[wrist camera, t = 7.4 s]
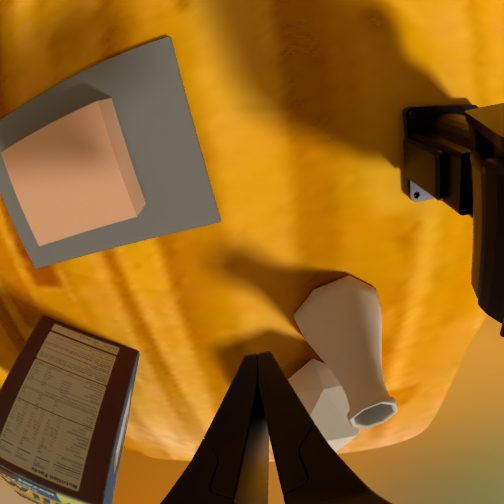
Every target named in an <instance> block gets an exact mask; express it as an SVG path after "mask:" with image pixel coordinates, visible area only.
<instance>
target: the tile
mask: <svg viewBox="0 0 504 504" xmlns="http://www.w3.org/2000/svg"><path fill="white" fill-rule="evenodd" d="M1 155H2V158H3V161H4V164H5V166H6V169H7V172H8V175H9V178H10V180H11V183H12V186H13V188H14V191H15V193H16V196H17V198H18V201H19V203H20V205H21V208H22V210H23V213H24V215H25V217H26V219H27V222H28V224H29V226H30V228H31V230H32V232H33V235H34V237H35V239H36V241H37V243H38V245H39V246H42V245H45V244H48V243H51V242H54V241H57V240H61V239H64V238H67V237H70V236H73V235H76V234H80V233H83V232H86V231H89V230H93V229H96V228H99V227H103V226H106V225H110V224H113V223H116V222H120V221H123V220H127V219H131V218H134V217H137V216H138V214H139V213H140V212H141V210H142V209H143V207H144V206H145V205H146V202H145V199H144V197H143V194H142V191H141V188H140V185H139V182H138V180H137V177H136V174H135V171H134V168H133V165H132V162H131V159H130V156H129V153H128V150H127V147H126V143H125V140H124V137H123V134H122V131H121V127H120V124H119V121H118V118H117V114H116V111H115V107H114V104H113V100H112V98H110V99H104V100H99V101H96V102H94V103H91V104H89V105H87V106H85V107H83V108H81V109H78V110H76V111H74V112H72V113H70V114H68V115H66V116H64V117H62V118H60V119H58V120H56V121H54V122H52V123H50V124H49V125H47V126H45V127H43V128H41V129H39V130H38V131H36V132H34V133H32V134H31V135H29V136H27V137H25V138H24V139H22V140H20V141H19V142H17V143H15V144H14V145H12V146H10V147H9V148H7V149H6V150H4V151H3V152H1Z"/></svg>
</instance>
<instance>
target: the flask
mask: <svg viewBox="0 0 504 504" xmlns="http://www.w3.org/2000/svg"><path fill="white" fill-rule="evenodd" d="M293 317H294V319H295V321H296V323H297V325H298V327H299V329H300V331H301V333H302V335H303V337H304V339H305V340H306V341H307V342H308V344H309V345H310V346H311V347H312V349H313V350H314V351H315V352H316V353H317V354H318V356H319V357H320V358H321V359H322V360H323V361H324V363H325V364H326V365H327V367H328V368H329V369H330V370H331V372H332V373H333V374H334V376H335V377H336V378H337V380H338V381H339V382H340V384H341V386H342V388H343V390H344V392H345V394H346V396H347V400H348V403H349V407H350V411H349V412H348V413H347V418H348V421H349V423H350V425H351V427H352V428H360V429H367V428H370V427H373V426H375V425H378V424H381V423H383V422H385V421H386V420H388V419H389V418H390V417H392V416H393V415H394V414H396V413H397V412H398V410H397V403H396V400H395V399H394V398H393V397H390V396H389V394H388V392H387V389H386V387H385V384H384V379H383V373H382V311H381V307H380V303H379V299H378V294H377V290H376V288H374V287H372V286H370V285H368V284H366V283H364V282H362V281H360V280H358V279H356V278H354V277H352V276H350V275H348V276H346V277H343V278H341V279H339V280H336V281H334V282H331V283H329V284H326V285H324V286H321V287H319V288H316V289H314V290H313V291H312V292H311V294H310V295H309V296H308V297H307V299H306V300H305V301H304V303H303V304H302V305H301V306H300V308H299V309H298V310H297V311H296V313H295V314H294V315H293Z"/></svg>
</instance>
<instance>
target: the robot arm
mask: <svg viewBox="0 0 504 504" xmlns="http://www.w3.org/2000/svg"><path fill="white" fill-rule="evenodd" d="M410 111H412V113H413V116H412V117H411V118H410V117H409V113H410ZM403 121H404V131H405V139H404V141H403V146H404V160H405V176H406V177H407V178H408V197H409V198H410V199H411V200H412V201H414V202H418V201H423V200H429V199H434V198H435V199H437V200H442V201H443V202H444V203H446V204H447V205H448V206H450V207H451V208H452V209H454V210H455V211H456V212H457V213H459V214H460V215H467V214H468V215H469V216H470V217H471V218H473V253H472V271H471V284H472V286H473V289H474V291H475V294H476V296H477V298H478V305H479V306H480V307H481V308H482V309H483V310H484V311H485V313H486V314H488V315H489V316H491V317H492V318H494V319H495V320H497V321H498V322H500V323H502V327H501V331H500V335H501V336H502V337H504V103H501V104H496V105H491V106H486V107H481V108H478V107H477V106H476V105H472V104H453V105H425V106H409V107H406V108H405V109H404V111H403ZM415 192H417V195H416V196H414V193H415ZM269 436H270V441H271V445H272V450H273V454H274V458H275V462H276V467H277V471H278V476H279V480H280V484H281V488H282V492H283V495H284V501H285V504H392V503H390V502H389V501H387V500H386V499H384V498H382V497H381V496H379V495H378V494H376V493H375V492H374V491H372V490H371V489H370V488H369V487H368V486H367V485H366V484H365V483H363V482H362V481H361V479H359V477H358V476H357V475H356V474H355V473H354V472H353V471H352V470H351V469H350V468H349V467H348V466H347V465H346V464H345V462H344V461H343V460H342V459H341V458H340V457H339V456H338V455H337V453H336V452H335V451H334V450H333V449H332V447H331V446H330V445H329V444H328V442H327V441H326V439H325V438H324V436H323V435H322V434H321V432H320V430H319V429H318V427H317V426H316V425H315V423H314V421H313V420H312V418H311V416H310V415H309V413H308V412H307V410H306V408H305V407H304V405H303V404H302V402H301V400H300V399H299V397H298V396H297V394H296V392H295V391H294V389H293V387H292V386H291V384H290V383H289V381H288V379H287V378H286V376H285V374H284V373H283V371H282V369H281V368H280V366H279V364H278V363H277V361H276V359H275V358H274V356H273V354H272V353H271V352H270V351H266V352H261V353H259V354H256V353H255V354H249V355H245V356H244V358H243V360H242V362H241V364H240V366H239V368H238V370H237V373H236V375H235V377H234V379H233V381H232V383H231V385H230V387H229V389H228V391H227V393H226V395H225V397H224V399H223V401H222V403H221V405H220V407H219V409H218V411H217V413H216V415H215V417H214V419H213V421H212V423H211V425H210V427H209V429H208V431H207V433H206V435H205V437H204V438H205V439H203V440H202V442H201V444H200V446H199V448H198V450H197V452H196V453H195V455H194V457H193V459H192V460H191V462H190V463H189V465H188V466H187V468H186V469H185V471H184V472H183V474H182V475H181V476H180V478H179V479H178V481H177V482H176V484H175V485H174V486H173V487H172V489H171V490H170V492H169V493H168V494H167V496H166V497H165V498H164V500H163V501H162V502H161V503H160V504H268V470H269V469H268V467H269Z"/></svg>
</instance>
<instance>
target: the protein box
mask: <svg viewBox="0 0 504 504" xmlns="http://www.w3.org/2000/svg"><path fill="white" fill-rule="evenodd" d="M138 360H139V352H138V351H136V350H133V349H130V348H127V347H123V346H120V345H117V344H114V343H112V342H109V341H106V340H103V339H100V338H97V337H94V336H92V335H89V334H86V333H84V332H81V331H78V330H76V329H73V328H70V327H68V326H66V325H63V324H61V323H58V322H56V321H53V320H51V319H48V318H46V317H44V316H42V317H41V318H40V320H39V322H38V323H37V325H36V327H35V328H34V330H33V332H32V333H31V335H30V337H29V338H28V340H27V342H26V343H25V345H24V347H23V349H22V350H21V352H20V354H19V355H18V357H17V359H16V361H15V363H14V365H13V366H12V368H11V370H10V372H9V374H8V376H7V378H6V380H5V382H4V383H3V385H2V387H1V389H0V478H1V479H2V480H3V481H4V482H5V483H6V484H7V485H8V486H10V487H11V488H12V489H13V490H14V491H16V492H17V493H18V494H19V495H20V496H21V497H24V498H26V499H28V500H30V501H32V502H34V503H37V504H112V501H113V496H114V490H115V484H116V479H117V473H118V468H119V463H120V458H121V453H122V448H123V443H124V439H125V433H126V428H127V423H128V417H129V410H130V403H131V397H132V392H133V387H134V381H135V376H136V371H137V365H138Z"/></svg>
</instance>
